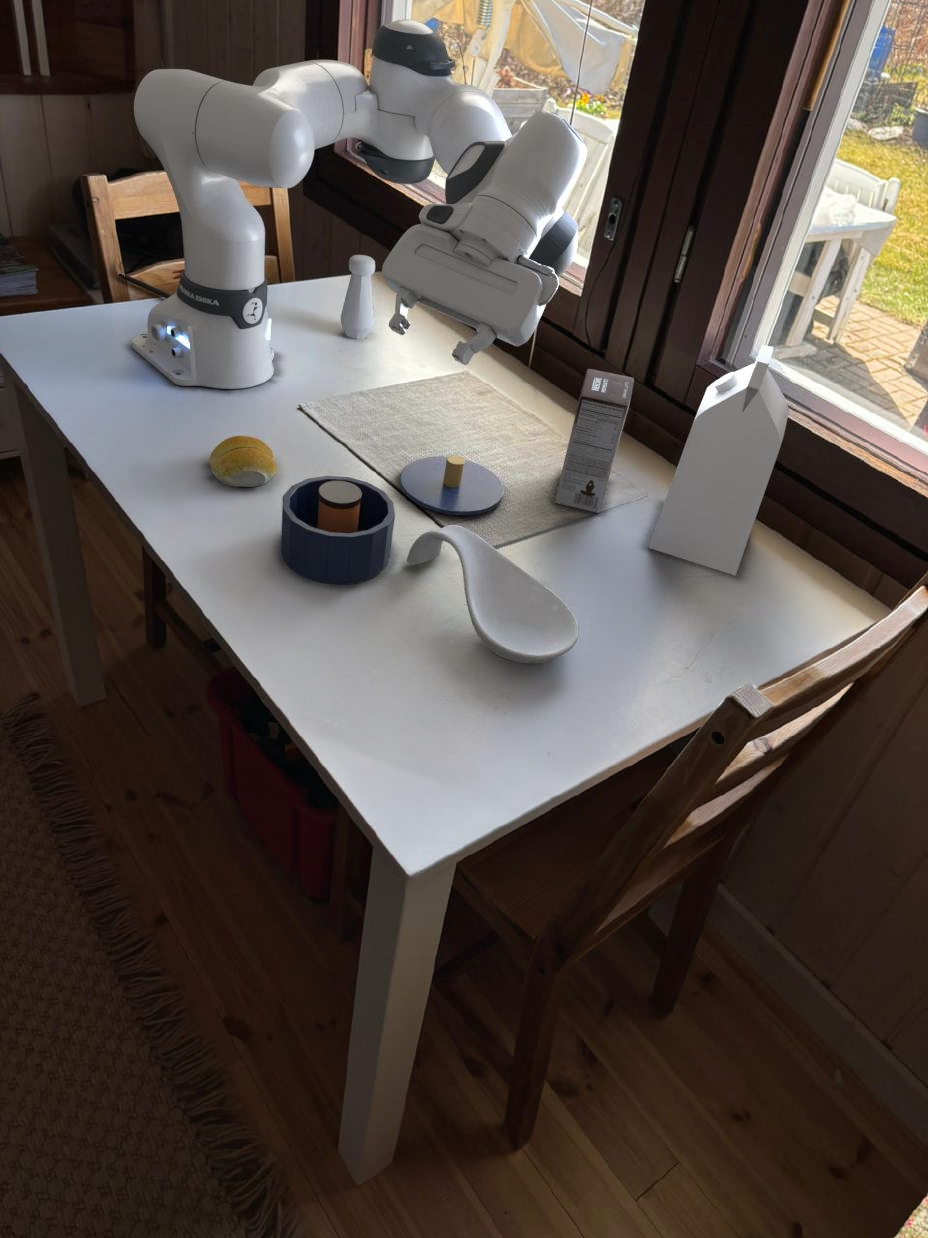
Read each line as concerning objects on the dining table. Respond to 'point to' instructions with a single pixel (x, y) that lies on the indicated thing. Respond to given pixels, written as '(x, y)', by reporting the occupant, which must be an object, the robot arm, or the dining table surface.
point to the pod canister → (339, 507)
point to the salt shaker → (359, 299)
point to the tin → (336, 535)
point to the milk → (724, 469)
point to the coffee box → (594, 439)
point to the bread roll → (242, 462)
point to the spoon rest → (504, 599)
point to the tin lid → (451, 485)
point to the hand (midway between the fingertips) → (426, 345)
